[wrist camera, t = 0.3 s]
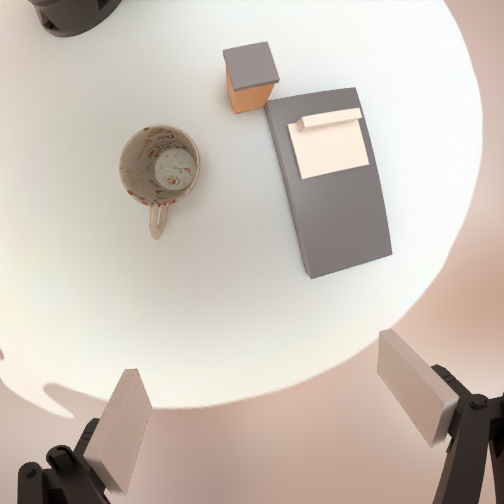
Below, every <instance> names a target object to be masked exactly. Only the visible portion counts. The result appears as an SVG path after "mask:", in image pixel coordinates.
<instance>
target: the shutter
mask: <svg viewBox="0 0 504 504" xmlns="http://www.w3.org/2000/svg"><path fill="white" fill-rule="evenodd" d="M360 118H362V115H361V112H360V108H354V109H346V110H340V111H333V112H327V113H321V114H315V115H310V116H304V117H302V118H300V119H299V120H298V121H297V122H296V123H292V124H288V125H287V129H288V132H289V136H290V140H291V143H292V147H293V151H294V155H295V158H296V162H297V166H298V170H299V174H300V178H301V179H305V178H309V177H314V176H318V175H322V174H327V173H331V172H336V171H340V170H345V169H350V168H354V167H359V166H364V165H369V162H368V157H367V153H366V149H365V145H364V141H363V137H362V133H361V130H360V126H359V122H358V119H360Z"/></svg>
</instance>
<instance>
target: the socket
mask: <svg viewBox="0 0 504 504" xmlns="http://www.w3.org/2000/svg"><path fill="white" fill-rule="evenodd" d="M264 108H265V111H266V115H267V118H268V122H269V125H270V129H271V133H272V136H273V140H274V144H275V147H276V151H277V155H278V159H279V162H280V166H281V170H282V174H283V178H284V182H285V186H286V190H287V194H288V198H289V202H290V206H291V210H292V214H293V218H294V222H295V226H296V231H297V235H298V239H299V244H300V248H301V252H302V257H303V261H304V266H305V270H306V273H307V274H308V276H309V277H310V278H311V279H313V278H316V277H320V276H323V275H327V274H330V273H334V272H337V271H340V270H344V269H347V268H350V267H354V266H357V265H360V264H363V263H367V262H370V261H373V260H376V259H380V258H383V257H386V256H389V255H392V248H391V241H390V235H389V228H388V222H387V216H386V210H385V205H384V199H383V194H382V189H381V184H380V179H379V175H378V170H377V166H376V161H375V157H374V153H373V149H372V145H371V141H370V137H369V133H368V129H367V125H366V122H365V118H364V115H363V111H362V108H361V104H360V101H359V98H358V94H357V91H356V88H355V87H354V88H345V89H337V90H329V91H322V92H316V93H309V94H303V95H297V96H292V97H286V98H281V99H276V100H271V101H267V102H266V104H265V107H264ZM354 108H360V112H361V115H362V118H360V119H358V122H359V126H360V130H361V133H362V137H363V141H364V145H365V149H366V153H367V157H368V162H369V165H364V166H359V167H354V168H350V169H345V170H340V171H336V172H331V173H327V174H322V175H318V176H314V177H309V178H305V179H301V178H300V174H299V170H298V166H297V162H296V158H295V155H294V151H293V147H292V143H291V140H290V136H289V132H288V129H287V125H288V124H292V123H296V122H297V121H298V120H299V119H300V118H302V117H304V116H310V115H315V114H321V113H327V112H333V111H340V110H346V109H354Z"/></svg>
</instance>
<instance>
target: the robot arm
mask: <svg viewBox="0 0 504 504" xmlns="http://www.w3.org/2000/svg"><path fill="white" fill-rule="evenodd" d="M28 1H30V2H31V3H32V4H33V5H34V6H35V9H36V12H37V14H38V17H39V19H40V22H41V24H42V26H43V27H44V28H45V29H46V30H47V31H49V32H50V33H51V34H53V35H55V36H59V37H69V36H74V35H77V34H80V33H83V32H85V31H87V30H89V29H91V28H93V27H94V26H96V25H97V24H99V23H100V22H101V21H103V20H104V19H105V18H106V17H107V16H108V15H110V14H111V13H112V12H113V10H114V9H115V8H116V7H117V6H118V4H119V3H120V1H121V0H28ZM377 373H378V374H379V376H380V377H381V378H382V380H383V381H384V382H385V384H386V385H387V387H388V388H389V389H390V391H391V392H392V394H393V395H394V396H395V398H396V399H397V400H398V402H399V403H400V405H401V406H402V408H403V409H404V410H405V412H406V413H407V415H408V416H409V417H410V418H411V420H412V421H413V423H414V424H415V426H416V427H417V429H418V430H419V432H420V433H421V435H422V436H423V437H424V439H425V440H426V441H427V443H428V445H429V446H430V447H433V446H435V445H437V444H440V443H442V442H444V441H445V438H446V436H447V433H449V435H450V436H451V437H452V438H451V441H450V443H449V446H448V448H447V451H446V452H447V457H446V461H445V465H444V468H443V472H442V475H441V479H440V482H439V486H438V488H437V492H436V495H435V498H434V501H433V503H432V504H478V502H479V497H480V493H481V487H482V482H483V476H484V470H485V464H486V457H487V448H488V443H489V449H490V454H491V461H492V468H493V475H494V484H495V494H496V504H504V393H503V396H501V397H497V398H493V399H488V398H487V397H486V396H484V395H481V394H471V393H470V392H469V391H468V390H467V389H466V388H465V387H464V386H463V385H462V384H461V383H460V382H459V381H458V380H456V378H455V377H454V376H453V375H451V373H450V372H449V371H448V370H447V369H446V368H444V367H442V366H440V365H437V364H436V365H434V366H431V367H430V366H429V365H428V364H427V363H426V362H425V361H424V360H423V359H422V358H421V357H420V356H419V355H418V354H417V353H416V352H415V351H414V350H413V349H412V348H411V347H410V346H409V345H408V344H407V343H406V342H405V341H404V340H403V339H402V338H401V337H400V336H399V335H398V334H396V332H394V330H392V329H388V330H384V331H380V332H379V351H378V368H377ZM151 409H152V406H151V403H150V401H149V398H148V396H147V393H146V391H145V388H144V385H143V383H142V380H141V377H140V375H139V372H138V369H125V370H124V372H123V374H122V376H121V378H120V380H119V382H118V384H117V386H116V388H115V390H114V392H113V394H112V396H111V398H110V400H109V402H108V404H107V406H106V408H105V410H104V412H103V414H102V416H101V418H100V419H98V418H93V419H92V420H91V421H90V422H89V423H88V424H87V425H86V427H85V429H84V431H83V433H82V435H81V437H80V439H79V441H78V443H77V445H76V447H75V449H74V451H72V450H71V449H70V447H68V446H66V445H59V446H55V447H53V448H52V449H50V450H49V451H48V453H47V455H46V461H47V462H48V463H49V465H50V466H51V467H52V468H51V469H42V468H41V467H40V465H39V464H38V463H36V462H28V463H25V464H24V465H23V466H21V468H20V469H19V472H18V500H17V501H18V502H17V504H111V503H110V502H109V500H108V498H107V497H106V496H105V495H104V491H105V488H107V489H108V490H109V492H110V493H111V494H116V495H124V496H127V492H128V488H129V485H130V481H131V477H132V473H133V470H134V466H135V463H136V459H137V456H138V452H139V449H140V445H141V442H142V439H143V435H144V432H145V429H146V425H147V422H148V419H149V415H150V412H151Z"/></svg>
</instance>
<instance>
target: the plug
mask: <svg viewBox="0 0 504 504" xmlns="http://www.w3.org/2000/svg"><path fill="white" fill-rule="evenodd" d="M223 56H224V59H225V62H226V77H227V89H228V93H229V96H230V100H231V103H232V107H233V110H234V114H236V113H241V112H245V111H249V110H253V109H258V108H262V107H265V104H266V102H267V100H268V97H269V95H270V93H271V91H272V88H273V86H274V84H275V83H278V82H279V80H280V79H279V76H278V73H277V69H276V66H275V63H274V60H273V57H272V54H271V51H270V48H269V45H268V42H261V43H255V44H250V45H245V46H240V47H235V48H230V49H226V50H223Z"/></svg>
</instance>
